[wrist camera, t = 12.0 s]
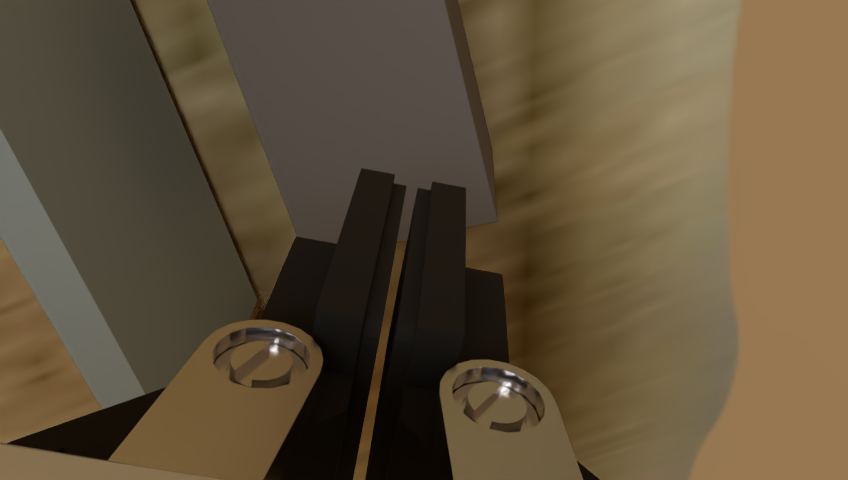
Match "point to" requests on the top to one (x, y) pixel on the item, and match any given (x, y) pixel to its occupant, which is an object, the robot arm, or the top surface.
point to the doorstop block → (360, 102)
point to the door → (108, 197)
